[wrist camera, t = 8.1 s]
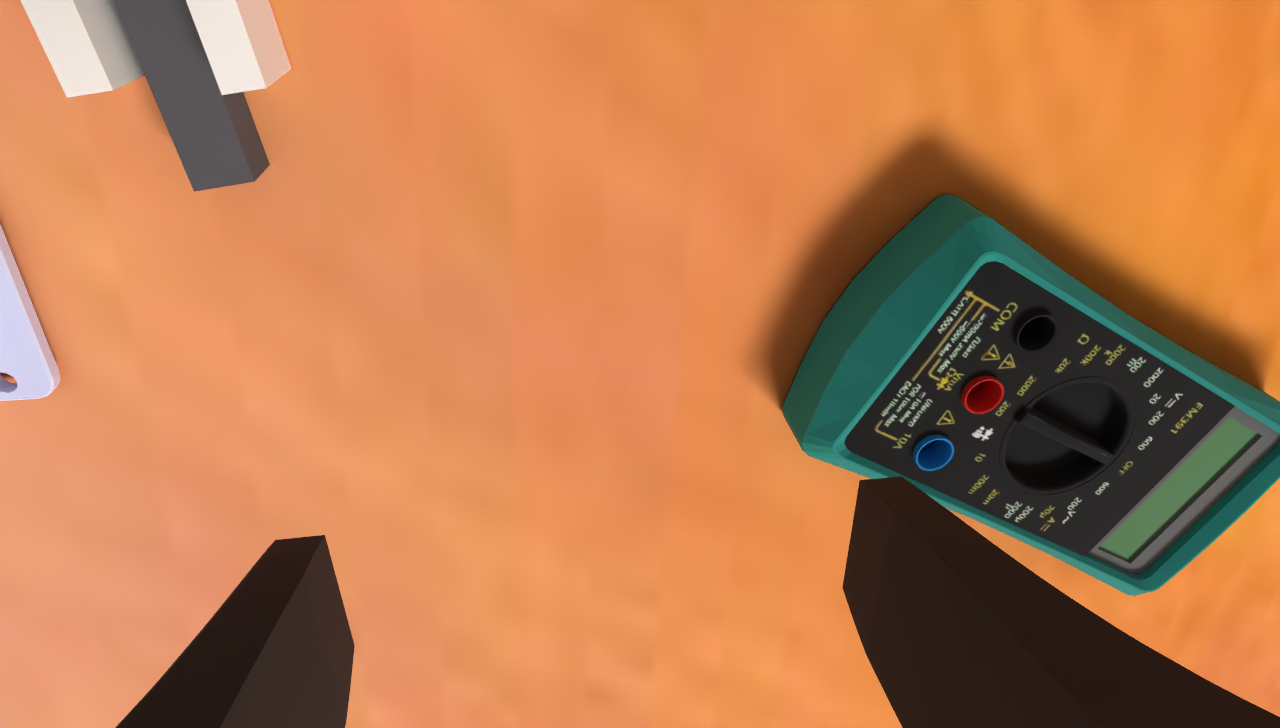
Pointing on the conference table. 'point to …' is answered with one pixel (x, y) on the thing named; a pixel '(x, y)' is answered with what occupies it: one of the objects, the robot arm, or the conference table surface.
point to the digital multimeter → (1031, 403)
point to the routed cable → (174, 69)
